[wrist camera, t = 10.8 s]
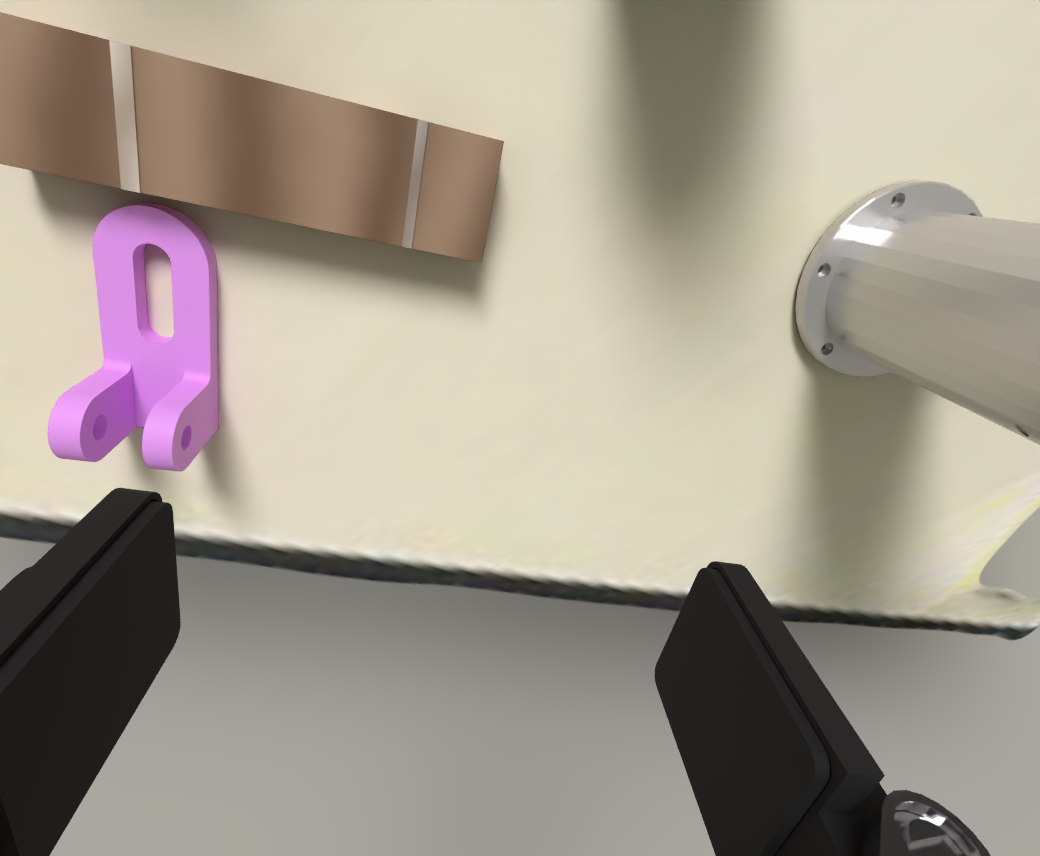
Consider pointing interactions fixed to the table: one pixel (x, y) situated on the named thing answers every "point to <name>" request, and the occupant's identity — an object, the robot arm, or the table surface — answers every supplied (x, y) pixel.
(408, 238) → the walnut plank
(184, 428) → the bracket
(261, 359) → the table surface
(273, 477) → the table surface
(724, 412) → the table surface
